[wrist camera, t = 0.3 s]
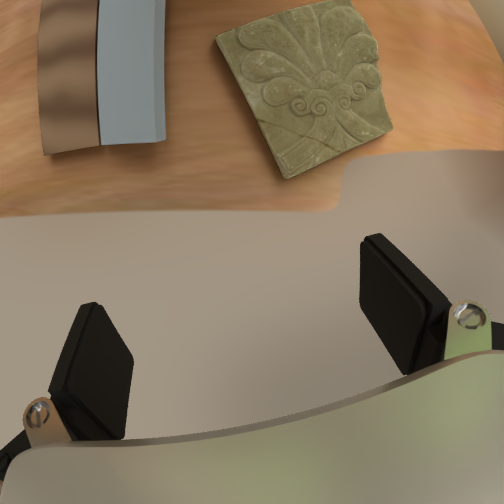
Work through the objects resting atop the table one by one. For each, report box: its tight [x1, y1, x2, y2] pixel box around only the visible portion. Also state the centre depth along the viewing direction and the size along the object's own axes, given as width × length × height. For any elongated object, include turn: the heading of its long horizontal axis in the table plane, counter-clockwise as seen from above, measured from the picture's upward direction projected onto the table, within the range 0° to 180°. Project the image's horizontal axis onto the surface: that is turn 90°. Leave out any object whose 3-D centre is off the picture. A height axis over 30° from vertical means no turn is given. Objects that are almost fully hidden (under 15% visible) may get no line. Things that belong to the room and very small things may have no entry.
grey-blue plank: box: [97, 0, 166, 145], centre depth 25 cm, size 26×8×2 cm, turn 179°
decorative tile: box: [215, 0, 393, 179], centre depth 32 cm, size 19×20×4 cm
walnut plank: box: [38, 0, 101, 156], centre depth 25 cm, size 26×8×2 cm, turn 179°
